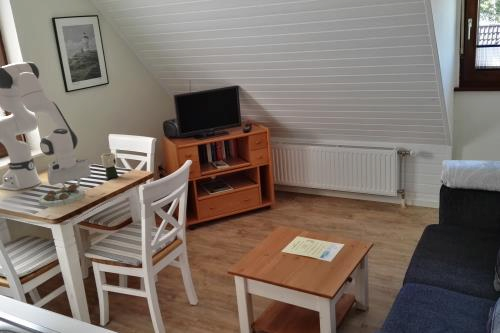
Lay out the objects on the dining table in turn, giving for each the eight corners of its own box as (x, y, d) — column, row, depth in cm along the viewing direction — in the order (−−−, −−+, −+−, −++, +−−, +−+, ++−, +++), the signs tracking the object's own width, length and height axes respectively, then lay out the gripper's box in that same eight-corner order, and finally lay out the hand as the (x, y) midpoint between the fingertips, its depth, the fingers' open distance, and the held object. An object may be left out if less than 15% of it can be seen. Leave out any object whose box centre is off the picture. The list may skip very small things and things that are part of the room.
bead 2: (70, 194, 253) (68, 186, 252) (68, 192, 257) (66, 184, 256) (78, 191, 255) (76, 184, 254) (76, 190, 258) (74, 182, 257)
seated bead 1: (46, 199, 255) (44, 191, 253) (51, 196, 258) (50, 188, 257) (53, 199, 253) (51, 191, 252) (58, 196, 257) (56, 189, 256)
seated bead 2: (45, 203, 248) (43, 195, 247) (50, 200, 252) (48, 192, 251) (51, 203, 247) (49, 195, 246) (57, 200, 251) (55, 193, 249)
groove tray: (30, 207, 248) (28, 202, 247) (59, 191, 267) (58, 187, 266) (65, 208, 241) (64, 203, 240) (93, 192, 260) (92, 187, 259)
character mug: (119, 179, 278) (114, 155, 274) (105, 181, 276) (101, 158, 273) (118, 173, 288) (114, 151, 284) (105, 176, 286) (101, 153, 283)
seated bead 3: (58, 202, 248) (56, 194, 247) (63, 199, 251) (62, 191, 250) (65, 202, 246) (63, 195, 245) (70, 199, 250) (68, 192, 249)
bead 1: (68, 194, 257) (67, 186, 257) (60, 195, 257) (59, 187, 257) (71, 192, 261) (69, 185, 261) (63, 193, 261) (62, 186, 261)
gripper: (86, 156, 259) (92, 182, 263) (44, 165, 249) (50, 192, 253) (89, 158, 254) (95, 185, 257) (46, 168, 244) (52, 195, 248)
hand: (72, 188), depth 255 cm, fingers closed on bead 2, 4 cm apart
